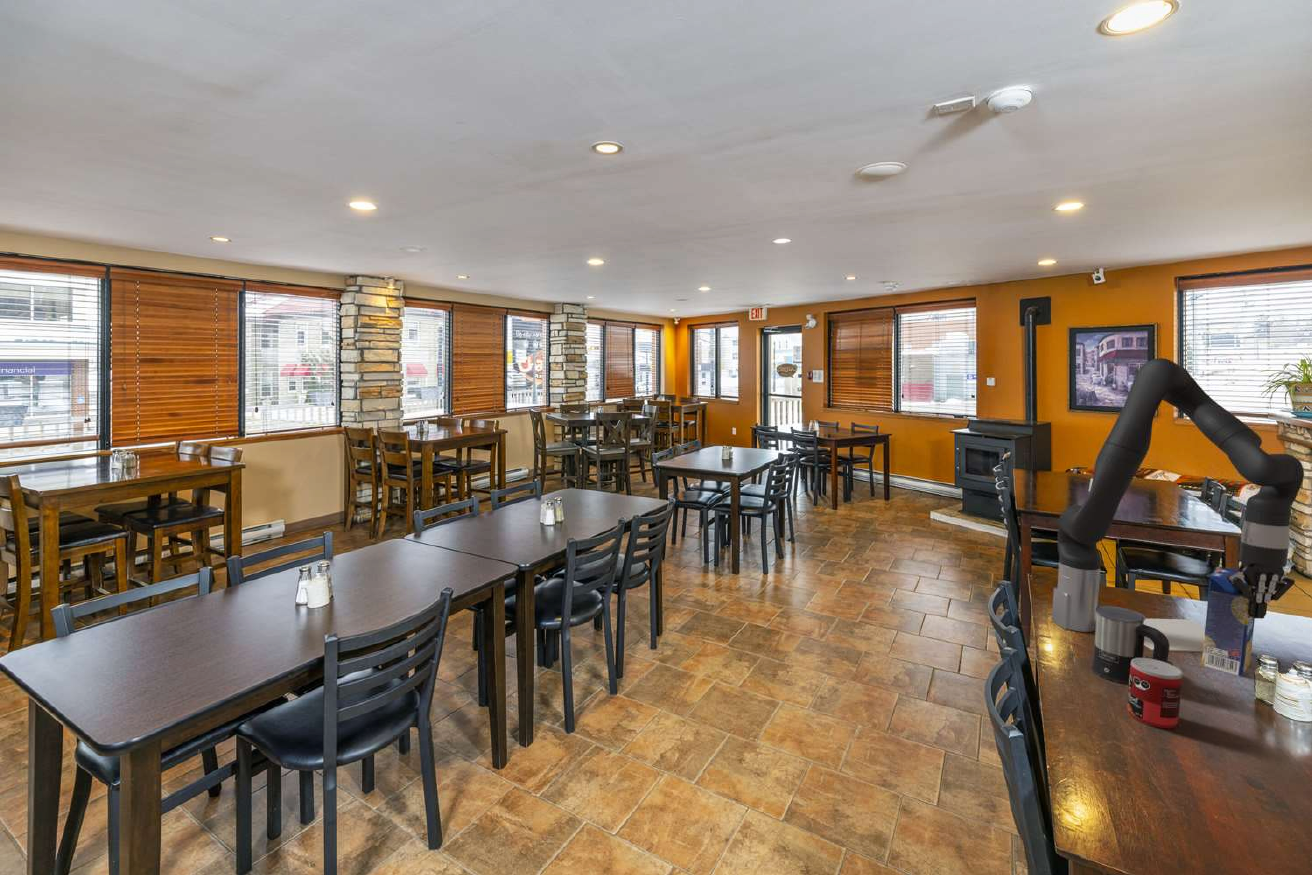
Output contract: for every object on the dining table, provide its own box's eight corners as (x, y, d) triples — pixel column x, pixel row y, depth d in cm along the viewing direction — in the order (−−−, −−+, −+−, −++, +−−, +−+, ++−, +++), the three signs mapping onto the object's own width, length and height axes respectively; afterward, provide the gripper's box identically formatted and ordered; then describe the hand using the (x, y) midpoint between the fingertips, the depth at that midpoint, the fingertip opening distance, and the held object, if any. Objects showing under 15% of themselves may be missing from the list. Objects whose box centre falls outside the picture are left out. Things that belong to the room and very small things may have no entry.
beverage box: (1250, 662, 144) (1259, 574, 141) (1241, 676, 137) (1250, 583, 135) (1212, 652, 149) (1220, 566, 147) (1201, 665, 142) (1210, 575, 140)
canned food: (1125, 703, 126) (1129, 653, 125) (1174, 715, 121) (1179, 664, 120) (1128, 720, 120) (1132, 668, 118) (1180, 734, 115) (1185, 680, 114)
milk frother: (1086, 674, 138) (1091, 612, 137) (1098, 652, 149) (1103, 594, 148) (1167, 697, 128) (1173, 631, 127) (1173, 671, 140) (1179, 610, 138)
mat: (1152, 650, 150) (1152, 649, 150) (1099, 618, 170) (1099, 617, 170) (1254, 653, 149) (1254, 651, 149) (1188, 620, 168) (1188, 619, 168)
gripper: (1248, 546, 130) (1239, 623, 132) (1313, 548, 129) (1304, 625, 131) (1218, 537, 138) (1211, 609, 139) (1279, 538, 137) (1271, 611, 138)
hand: (1256, 617), depth 135 cm, fingers closed
